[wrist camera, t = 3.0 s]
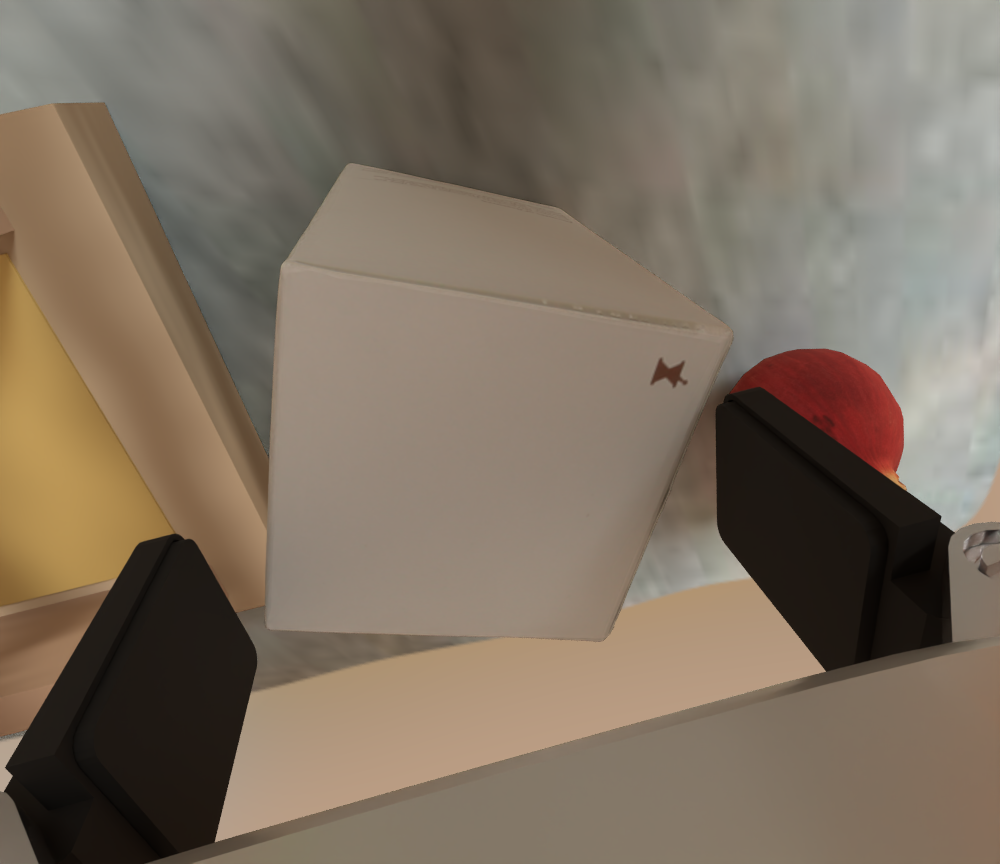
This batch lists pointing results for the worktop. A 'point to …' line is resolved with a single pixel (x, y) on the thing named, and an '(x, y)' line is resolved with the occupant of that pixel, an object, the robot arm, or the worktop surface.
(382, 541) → the supplement box
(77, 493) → the wooden tray
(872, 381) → the onion
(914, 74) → the worktop surface
